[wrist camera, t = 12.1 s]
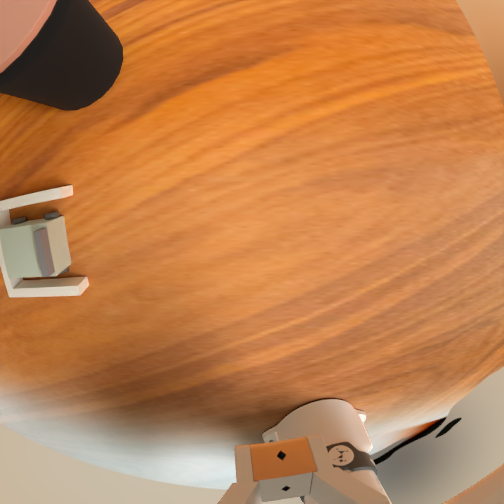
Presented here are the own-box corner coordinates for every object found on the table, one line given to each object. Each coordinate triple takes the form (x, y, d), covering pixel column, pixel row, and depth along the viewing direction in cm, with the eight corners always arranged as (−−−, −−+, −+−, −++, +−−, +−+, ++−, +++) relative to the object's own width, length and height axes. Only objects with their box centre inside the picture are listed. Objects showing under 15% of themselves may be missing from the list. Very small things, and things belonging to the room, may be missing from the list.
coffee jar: (55, 42, 23) (-27, -10, 6) (131, 24, 24) (77, -62, 7) (44, 118, 26) (-61, 103, 9) (122, 105, 27) (36, 57, 10)
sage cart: (73, 267, 32) (51, 286, 26) (27, 270, 31) (3, 287, 25) (63, 210, 30) (38, 220, 24) (17, 217, 29) (-10, 227, 23)
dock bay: (89, 285, 33) (80, 295, 30) (20, 288, 31) (9, 297, 28) (72, 184, 29) (60, 187, 26) (2, 200, 28) (-12, 204, 25)
